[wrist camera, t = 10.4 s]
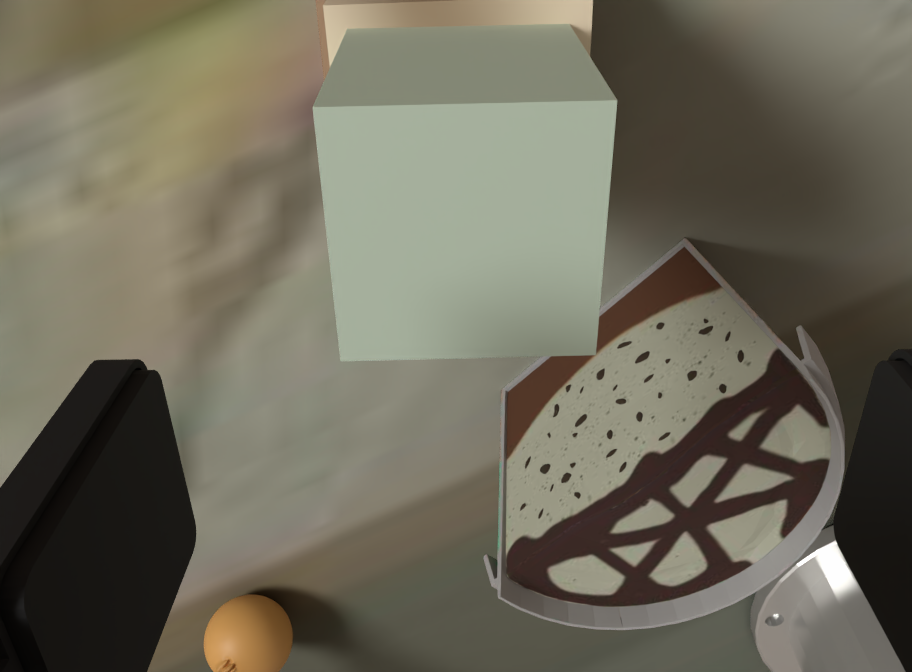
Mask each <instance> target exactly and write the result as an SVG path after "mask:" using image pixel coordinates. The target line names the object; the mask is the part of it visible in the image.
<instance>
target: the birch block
mask: <svg viewBox="0 0 912 672" xmlns="http://www.w3.org/2000/svg"><path fill="white" fill-rule="evenodd" d="M323 11H324V20H325V29H326V38H327V47H328V56H329V65H330V67H331V64H332V62H333V60H334V58H335V55H336V53H337V51H338V48H339V46H340V44H341V42H342V39H343V37H344V35H345V33H346V30H347V29H354V28H399V27H444V26H489V25H534V24H570V26H571V27H572V29H573V31H574V32H575V34H576V35H577V37H578V39H579V40H580V42H581V43H582V45H583V46H584V48H585V50H586V51H587V53H588V54H589V56H590V51H591V31H592V11H593V0H326V1H325V3H324V5H323Z"/></svg>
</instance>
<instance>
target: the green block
mask: <svg viewBox="0 0 912 672" xmlns="http://www.w3.org/2000/svg"><path fill="white" fill-rule="evenodd" d="M616 111H617V99H616V97H615V96H614V94H613V93H612V91H611V89H610V88H609V86H608V85H607V83H606V81H605V80H604V78H603V77H602V75H601V73H600V72H599V70H598V69H597V67H596V66H595V64H594V62H593V61H592V59H591V58H590V56H589V54H588V53H587V51H586V50H585V48H584V46H583V45H582V43H581V42H580V40H579V39H578V37H577V35H576V34H575V32H574V31H573V29H572V27H571V26H570V24H534V25H489V26H444V27H399V28H354V29H347V30H346V33H345V35H344V37H343V39H342V42H341V44H340V46H339V48H338V51H337V53H336V55H335V58H334V60H333V62H332V64H331V67H330V69H329V71H328V73H327V76H326V78H325V80H324V83H323V85H322V87H321V89H320V92H319V94H318V96H317V98H316V101H315V103H314V105H313V115H314V124H315V133H316V143H317V152H318V161H319V170H320V179H321V188H322V197H323V206H324V216H325V225H326V234H327V243H328V252H329V261H330V270H331V280H332V289H333V298H334V307H335V316H336V325H337V334H338V343H339V353H340V361H375V360H416V359H458V358H499V357H541V356H583V355H596V347H597V336H598V324H599V312H600V300H601V288H602V276H603V265H604V253H605V241H606V229H607V217H608V205H609V194H610V182H611V170H612V158H613V146H614V134H615V123H616Z"/></svg>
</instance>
